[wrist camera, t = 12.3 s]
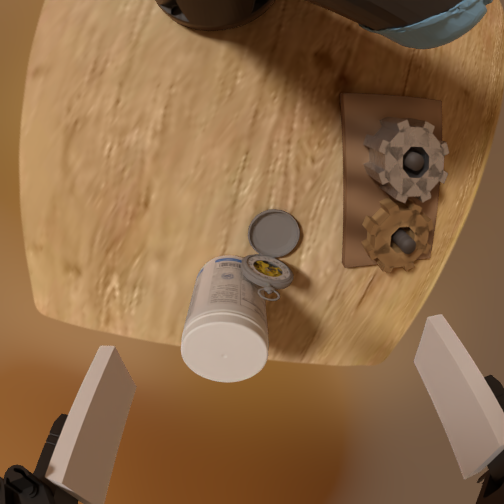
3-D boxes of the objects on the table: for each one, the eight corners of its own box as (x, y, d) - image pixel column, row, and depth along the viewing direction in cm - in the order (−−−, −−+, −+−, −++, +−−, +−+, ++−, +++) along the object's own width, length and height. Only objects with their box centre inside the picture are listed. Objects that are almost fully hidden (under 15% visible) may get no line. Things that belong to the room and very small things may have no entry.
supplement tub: (226, 318, 47) (219, 394, 34) (183, 277, 44) (159, 349, 30) (277, 285, 44) (287, 361, 31) (235, 238, 41) (228, 306, 28)
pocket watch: (291, 201, 39) (303, 233, 30) (306, 257, 42) (320, 300, 33) (229, 219, 40) (223, 256, 31) (249, 273, 43) (249, 319, 34)
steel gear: (361, 115, 32) (377, 118, 28) (428, 119, 32) (449, 123, 27) (362, 191, 36) (377, 204, 32) (426, 189, 36) (445, 201, 31)
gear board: (339, 93, 32) (357, 91, 26) (435, 100, 32) (463, 103, 26) (341, 262, 43) (354, 287, 37) (425, 253, 42) (445, 275, 36)
